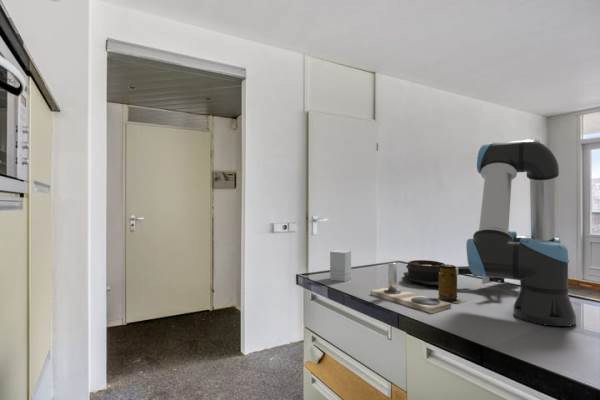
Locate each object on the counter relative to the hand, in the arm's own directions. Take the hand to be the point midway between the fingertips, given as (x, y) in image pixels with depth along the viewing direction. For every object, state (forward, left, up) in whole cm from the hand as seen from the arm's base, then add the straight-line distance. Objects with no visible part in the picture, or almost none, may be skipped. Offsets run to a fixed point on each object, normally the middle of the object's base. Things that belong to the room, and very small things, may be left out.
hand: (464, 276), depth 127 cm
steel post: (+14, +24, -7) cm, 28 cm away
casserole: (+21, -6, -7) cm, 23 cm away
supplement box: (+45, +22, -7) cm, 50 cm away
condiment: (0, +10, -7) cm, 12 cm away
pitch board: (+7, +24, -7) cm, 26 cm away
